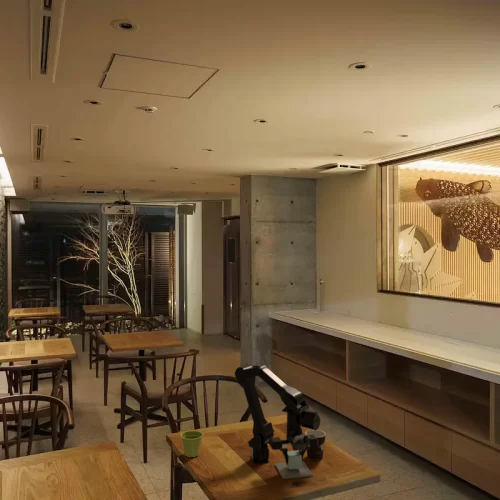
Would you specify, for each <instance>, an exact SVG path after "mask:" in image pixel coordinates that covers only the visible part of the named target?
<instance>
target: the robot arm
mask: <svg viewBox="0 0 500 500" xmlns="http://www.w3.org/2000/svg"><path fill="white" fill-rule="evenodd" d="M234 377H235V379H236V381H237V383H238V385H239V386H240V387H241V388H242V389H243V392H244V395H245V399H246V403H247V406H248V408H249V412H250V417H251V419H252V421H253V425H252V438H250V439H249V440H248V441H247V443H248V447H249V448H251V452H250V453H251V455H250V456H249V457H250V460H251V462H252V464H264V463H269V462H270V461H269V460H270V449H269V447H270V448H271V449H272V450H274V451H275V450H277V451H278V450H280V452H282V455H283V457H284V458H283V459H284V460H285V461H284V462H285V463H286V464H288V453H287V452H288V451H289V449H288V447H287V446H291V447H292V451H299V453H300V454H301V456H302V460H303V459H304V456H305V453H307V450H308V449H310V446H311V447H318V439H317V438H316V437H315V436H314V435H305V434H304V435H303V428H305V429H308V430H319V428H320V425H321V418H320V415H319V412H318V411H316V410H310V407H309V405H308V403H307V402H306V400H305V398H304V394H303V393H302V392H301V391H299V390H298V389H296V388H295V387H292V386H290V385H287V384H286V383H285V382H283V381H282V380H281V379H280V378H279V376H278V375H275V374H274V372H272V371H271V369H269V368H268V367H267V365H265V364H260V365H251V364H245V365H242V366H238V367H237V368H236V369H235V371H234ZM257 377H259V378H260V380H262V381H263V382H264V383H265V384H266V385H268V387H270V388H271V389H272V390H274V391H273V392H275V393H277V395H279V397H280V400H281V402H282V404H284V405H285V406H284V408H283V409H281V412H283V413H286V424H285V428H286V434H285V438H286V439H281V438H280V437H279V436H275V433H274V432H275V430H274V428H273V423H272V421H270V422H269V421H267V419H266V418H265V415H264V411H263V409H262V408H263V407H262V405H261V401H260V397H259V395H258V392H257V388H256V385H255V384H256V378H257ZM268 444H269V447H268ZM309 445H310V446H309Z"/></svg>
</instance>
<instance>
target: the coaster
mask: <svg viewBox="0 0 500 500" xmlns="http://www.w3.org/2000/svg"><path fill="white" fill-rule="evenodd" d="M274 466H275V468H276V470H277V471H278V474H279V475H280V477H281V479H284V480H286V479H297V478H306V477H308V478H309V477H313V476H314V474H313V473H312V471H311V469H310V468H309V467H308V465H307V464H306V462H305V461H304V460H302V467H301V469H289V468H288V467H287V465H286V462H277V463H276V462H275V463H274Z"/></svg>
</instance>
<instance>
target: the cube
mask: <svg viewBox="0 0 500 500" xmlns="http://www.w3.org/2000/svg"><path fill="white" fill-rule="evenodd" d="M287 453H288V464H286V465H287V467H288V468H289V469H301V467H302V461H303V459H302V456H301V454H300V453H299V450H297V451H295V450H290V451H289V450H288V452H287Z"/></svg>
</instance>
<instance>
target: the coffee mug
mask: <svg viewBox="0 0 500 500" xmlns="http://www.w3.org/2000/svg"><path fill="white" fill-rule="evenodd" d="M326 434H327V433H326V432H325V431H323V430H321V429H317V430H313V429H308V430H306V431H305V432H304V435H314V436H315V437H316V438H317V439H318V447H311V446H310V445H309V446H310V449H308V450H306V456H307V458H308V460H310V461H311V460H312V461H321V460H322V459H323V458H324V449H325V444H326V443H325V442H326Z"/></svg>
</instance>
